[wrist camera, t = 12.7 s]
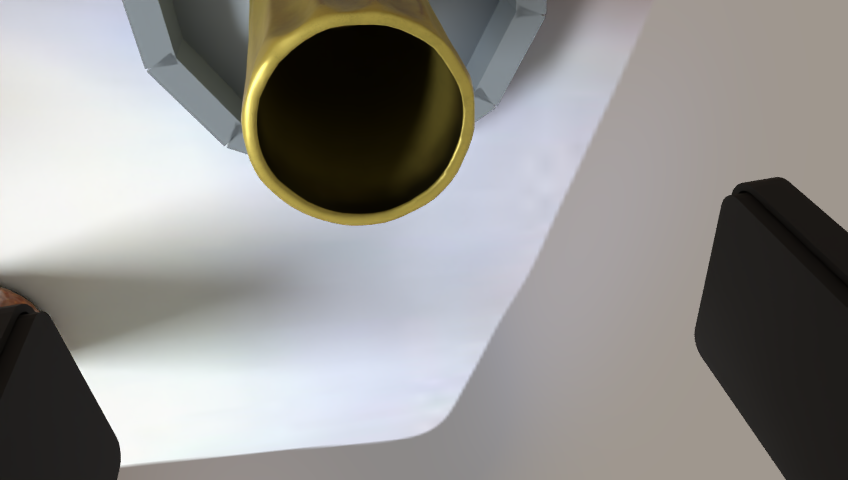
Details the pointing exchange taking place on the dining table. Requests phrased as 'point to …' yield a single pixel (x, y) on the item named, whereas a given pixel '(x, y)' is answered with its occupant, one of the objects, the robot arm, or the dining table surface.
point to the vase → (354, 106)
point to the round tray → (229, 35)
